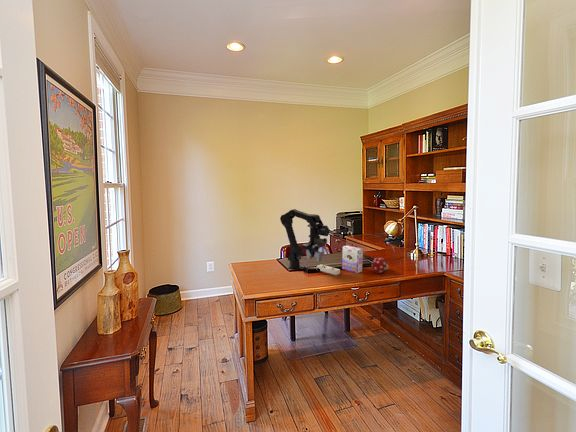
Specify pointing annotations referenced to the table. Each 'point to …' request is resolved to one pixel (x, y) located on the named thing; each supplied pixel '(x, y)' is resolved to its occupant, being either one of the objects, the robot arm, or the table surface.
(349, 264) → the candy box
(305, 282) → the table surface
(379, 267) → the decorative mushroom
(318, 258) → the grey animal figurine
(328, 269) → the rail
